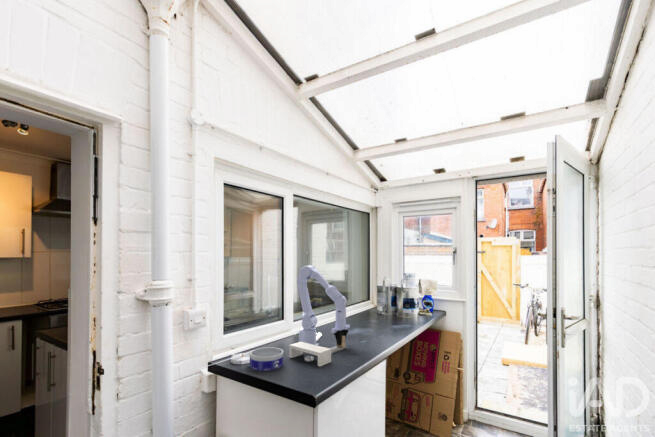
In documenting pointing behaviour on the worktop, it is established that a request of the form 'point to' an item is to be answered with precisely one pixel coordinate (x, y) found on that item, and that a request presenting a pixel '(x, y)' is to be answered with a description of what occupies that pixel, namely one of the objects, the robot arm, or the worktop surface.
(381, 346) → the worktop surface
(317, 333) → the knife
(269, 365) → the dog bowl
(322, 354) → the small white bench
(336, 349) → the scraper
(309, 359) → the token
